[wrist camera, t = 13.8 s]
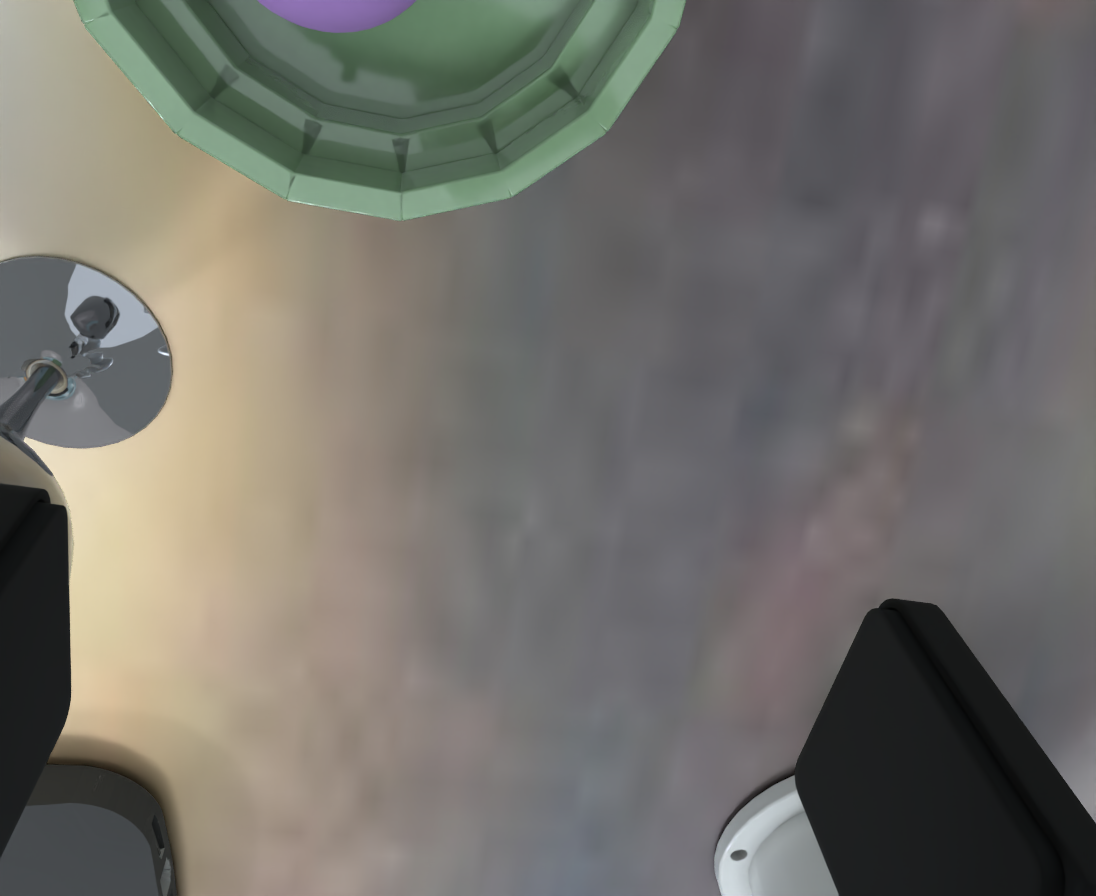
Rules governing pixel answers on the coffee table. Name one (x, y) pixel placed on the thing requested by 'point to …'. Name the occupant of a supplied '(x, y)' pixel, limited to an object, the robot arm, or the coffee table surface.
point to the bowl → (389, 92)
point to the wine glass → (72, 366)
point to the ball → (337, 13)
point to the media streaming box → (88, 839)
